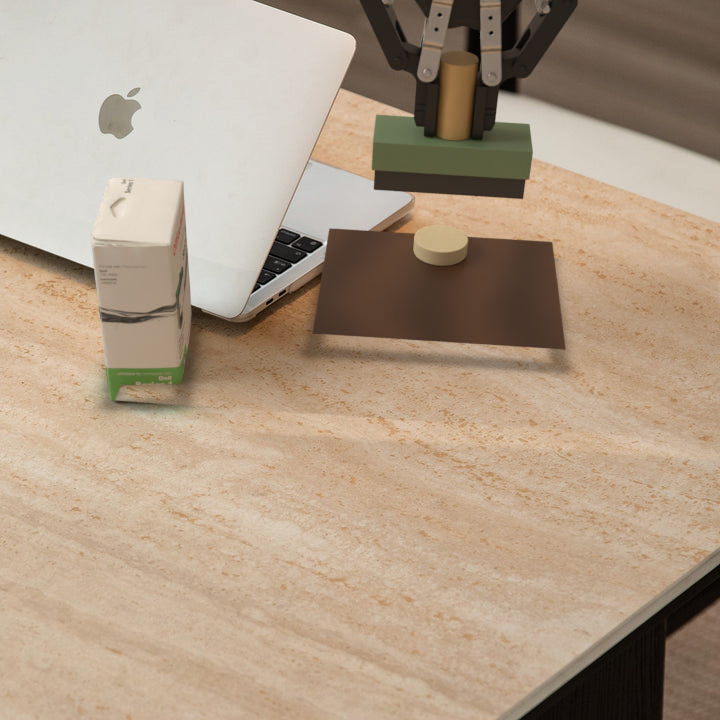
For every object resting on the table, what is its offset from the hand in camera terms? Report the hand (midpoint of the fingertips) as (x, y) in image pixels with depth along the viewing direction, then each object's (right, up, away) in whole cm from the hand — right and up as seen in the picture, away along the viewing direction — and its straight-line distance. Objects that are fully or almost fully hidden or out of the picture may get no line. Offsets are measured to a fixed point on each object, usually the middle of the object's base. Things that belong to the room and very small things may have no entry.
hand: (453, 131), depth 79 cm
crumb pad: (0, -6, +14) cm, 15 cm away
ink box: (-20, -15, +4) cm, 25 cm away
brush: (0, -3, +2) cm, 4 cm away
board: (0, -10, +11) cm, 15 cm away
